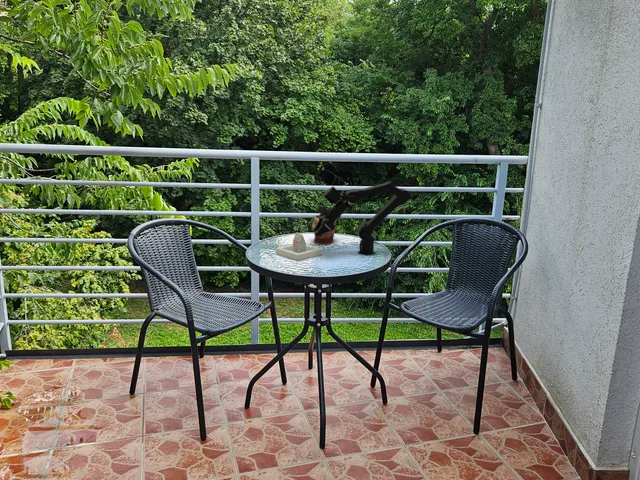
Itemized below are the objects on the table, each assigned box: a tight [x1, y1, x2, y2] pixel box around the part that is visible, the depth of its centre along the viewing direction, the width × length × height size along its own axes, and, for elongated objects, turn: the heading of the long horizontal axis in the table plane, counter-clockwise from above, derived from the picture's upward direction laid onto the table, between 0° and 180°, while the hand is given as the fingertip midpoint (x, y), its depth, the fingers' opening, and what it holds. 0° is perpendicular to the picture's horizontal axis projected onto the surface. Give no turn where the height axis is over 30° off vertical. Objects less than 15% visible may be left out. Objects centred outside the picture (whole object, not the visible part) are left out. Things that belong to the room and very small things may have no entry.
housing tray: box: [275, 243, 323, 262], centre depth 272 cm, size 16×16×3 cm
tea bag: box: [292, 231, 307, 253], centre depth 271 cm, size 4×7×10 cm, turn 29°
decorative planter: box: [311, 215, 337, 245], centre depth 296 cm, size 20×12×14 cm, turn 164°
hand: (314, 233), depth 271 cm, fingers open, 9 cm apart
